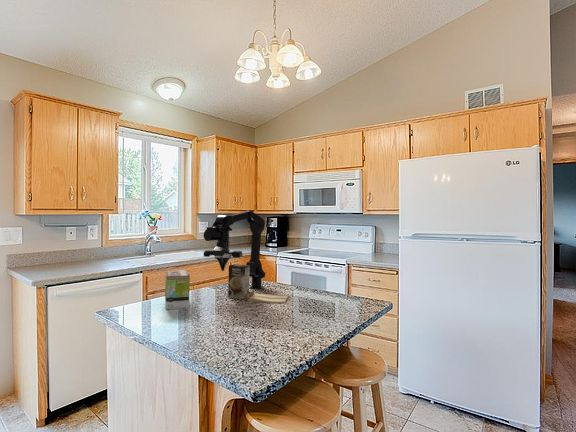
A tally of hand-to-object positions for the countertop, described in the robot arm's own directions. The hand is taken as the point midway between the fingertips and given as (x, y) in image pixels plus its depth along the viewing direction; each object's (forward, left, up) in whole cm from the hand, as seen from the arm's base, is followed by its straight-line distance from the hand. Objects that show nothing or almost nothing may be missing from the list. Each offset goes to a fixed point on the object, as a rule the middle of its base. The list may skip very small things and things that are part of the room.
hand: (222, 270), depth 167 cm
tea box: (+18, -16, -13) cm, 27 cm away
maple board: (+1, +24, -13) cm, 27 cm away
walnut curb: (0, +14, -13) cm, 19 cm away
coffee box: (0, +8, -13) cm, 16 cm away
